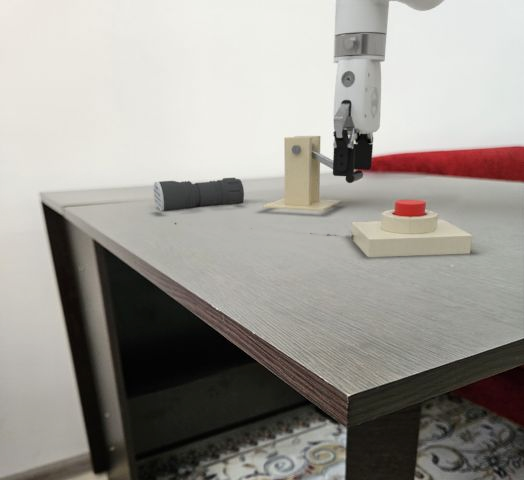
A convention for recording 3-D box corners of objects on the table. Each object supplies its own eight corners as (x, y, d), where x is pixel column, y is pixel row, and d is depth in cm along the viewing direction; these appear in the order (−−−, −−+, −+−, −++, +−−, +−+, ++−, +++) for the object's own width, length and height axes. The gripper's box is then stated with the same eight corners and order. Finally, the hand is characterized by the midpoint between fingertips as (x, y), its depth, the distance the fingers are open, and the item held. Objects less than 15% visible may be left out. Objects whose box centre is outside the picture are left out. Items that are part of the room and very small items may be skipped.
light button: (419, 213, 65) (420, 198, 65) (428, 218, 62) (430, 203, 61) (390, 214, 65) (391, 199, 65) (398, 219, 62) (399, 204, 61)
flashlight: (236, 204, 98) (235, 174, 96) (247, 208, 93) (246, 177, 91) (155, 212, 92) (151, 180, 90) (162, 217, 88) (159, 183, 86)
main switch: (359, 183, 87) (366, 169, 85) (350, 187, 83) (357, 173, 81) (298, 150, 89) (304, 136, 88) (286, 152, 85) (292, 138, 84)
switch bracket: (341, 207, 92) (343, 134, 87) (323, 216, 84) (325, 138, 80) (283, 204, 96) (283, 135, 91) (262, 212, 89) (260, 138, 84)
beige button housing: (440, 235, 70) (443, 205, 68) (470, 254, 61) (474, 219, 59) (351, 238, 70) (352, 208, 68) (367, 258, 61) (370, 223, 59)
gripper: (368, 43, 68) (359, 180, 76) (398, 53, 82) (388, 167, 90) (314, 47, 71) (311, 177, 79) (352, 56, 85) (346, 166, 93)
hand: (352, 172), depth 84 cm, fingers open, 9 cm apart
